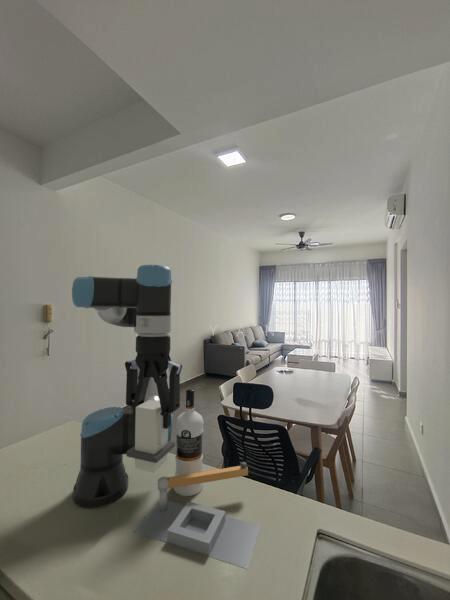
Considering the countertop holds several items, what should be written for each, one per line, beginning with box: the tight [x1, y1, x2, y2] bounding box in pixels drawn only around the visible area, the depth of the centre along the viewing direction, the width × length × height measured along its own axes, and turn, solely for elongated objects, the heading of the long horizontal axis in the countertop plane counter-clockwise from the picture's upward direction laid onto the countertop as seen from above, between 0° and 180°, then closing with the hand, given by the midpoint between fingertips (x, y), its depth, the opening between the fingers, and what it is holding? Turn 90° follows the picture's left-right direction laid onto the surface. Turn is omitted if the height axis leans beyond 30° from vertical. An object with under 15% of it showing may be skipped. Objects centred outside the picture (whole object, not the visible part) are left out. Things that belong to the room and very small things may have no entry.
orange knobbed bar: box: [157, 461, 249, 492], centre depth 80 cm, size 26×3×3 cm, turn 107°
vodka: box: [173, 388, 205, 497], centre depth 86 cm, size 9×9×30 cm
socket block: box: [133, 490, 262, 570], centre depth 69 cm, size 28×12×6 cm, turn 70°
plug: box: [126, 400, 176, 473], centre depth 63 cm, size 7×7×13 cm
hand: (151, 440), depth 63 cm, fingers closed on plug, 5 cm apart
